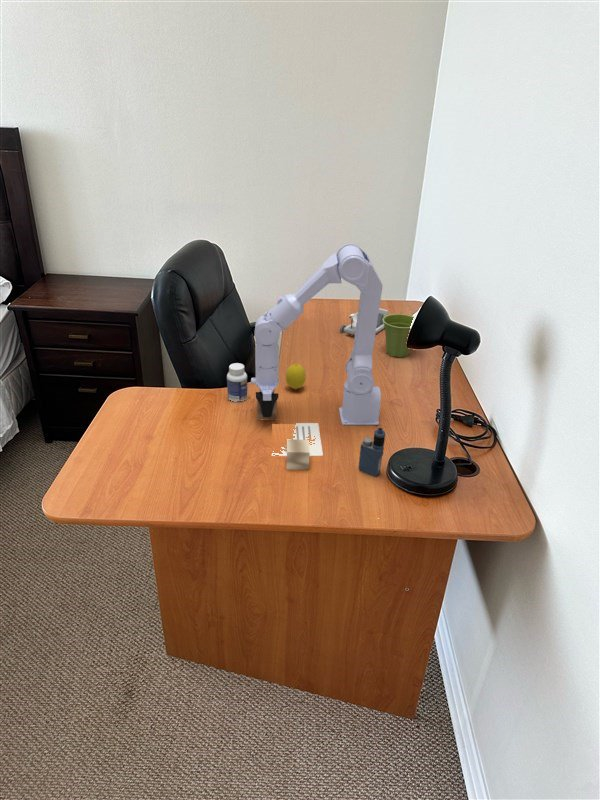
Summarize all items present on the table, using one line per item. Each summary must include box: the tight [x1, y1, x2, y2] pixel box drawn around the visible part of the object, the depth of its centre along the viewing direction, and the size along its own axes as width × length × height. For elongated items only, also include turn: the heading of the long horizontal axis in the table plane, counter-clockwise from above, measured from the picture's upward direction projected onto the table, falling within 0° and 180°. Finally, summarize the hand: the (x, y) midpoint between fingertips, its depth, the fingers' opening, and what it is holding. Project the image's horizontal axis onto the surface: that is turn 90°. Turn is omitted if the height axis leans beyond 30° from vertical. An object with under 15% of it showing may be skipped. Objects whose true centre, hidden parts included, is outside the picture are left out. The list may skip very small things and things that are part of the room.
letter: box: [271, 422, 324, 457], centre depth 136 cm, size 12×14×1 cm
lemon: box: [285, 363, 307, 390], centre depth 156 cm, size 6×6×8 cm
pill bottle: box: [226, 362, 248, 403], centre depth 150 cm, size 5×5×10 cm
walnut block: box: [256, 399, 278, 421], centre depth 144 cm, size 5×5×5 cm
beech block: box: [286, 439, 311, 471], centre depth 127 cm, size 5×5×5 cm
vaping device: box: [358, 427, 386, 478], centre depth 123 cm, size 3×5×12 cm, turn 58°
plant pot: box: [382, 313, 415, 358], centre depth 178 cm, size 12×12×11 cm
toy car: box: [339, 307, 389, 336], centre depth 193 cm, size 18×10×12 cm
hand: (267, 410), depth 145 cm, fingers closed on walnut block, 5 cm apart
